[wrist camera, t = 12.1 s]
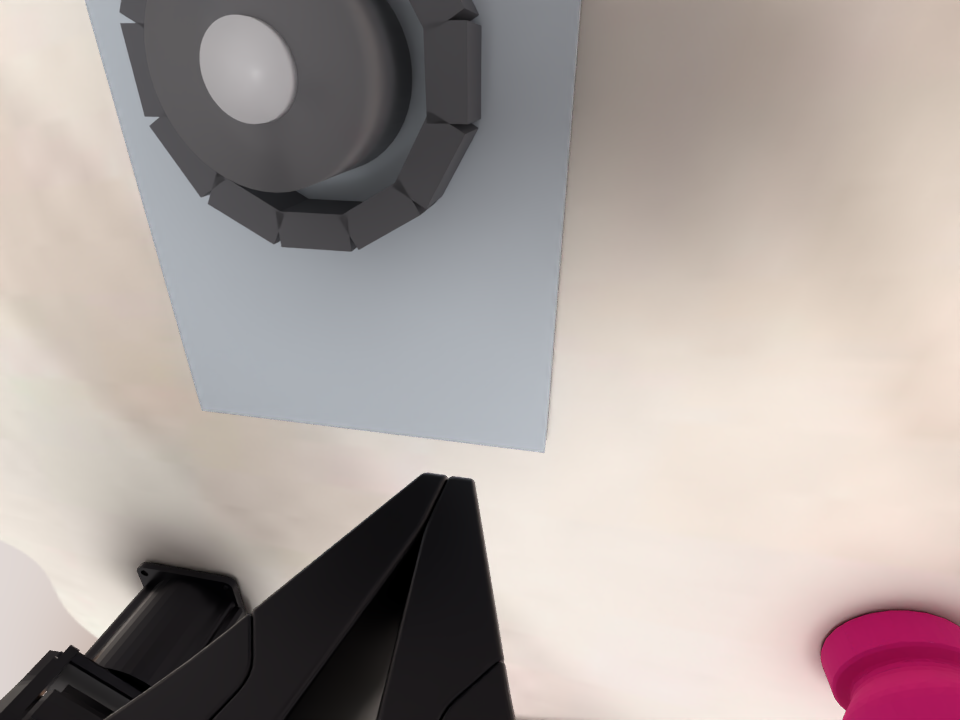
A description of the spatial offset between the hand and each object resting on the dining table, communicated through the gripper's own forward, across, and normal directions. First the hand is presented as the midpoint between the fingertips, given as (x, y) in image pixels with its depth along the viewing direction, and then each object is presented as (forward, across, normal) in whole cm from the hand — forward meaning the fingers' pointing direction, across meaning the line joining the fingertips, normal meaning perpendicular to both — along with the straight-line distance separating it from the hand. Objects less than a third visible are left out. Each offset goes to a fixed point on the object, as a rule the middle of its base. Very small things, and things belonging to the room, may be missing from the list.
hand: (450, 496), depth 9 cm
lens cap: (+12, +7, -6) cm, 15 cm away
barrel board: (+13, +7, -2) cm, 15 cm away
